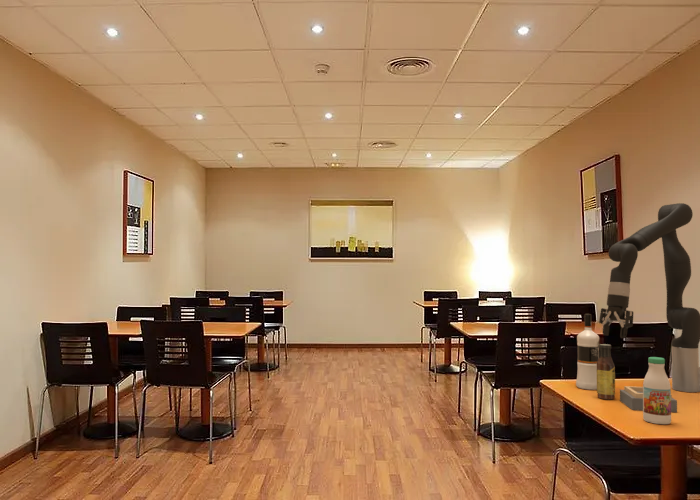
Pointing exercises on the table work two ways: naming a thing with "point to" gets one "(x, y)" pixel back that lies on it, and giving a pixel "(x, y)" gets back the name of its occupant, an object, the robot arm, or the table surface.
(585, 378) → the vodka
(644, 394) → the milk bottle
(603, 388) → the sauce bottle
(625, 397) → the tray
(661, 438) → the table surface
